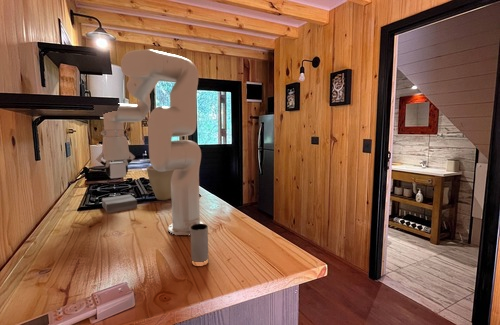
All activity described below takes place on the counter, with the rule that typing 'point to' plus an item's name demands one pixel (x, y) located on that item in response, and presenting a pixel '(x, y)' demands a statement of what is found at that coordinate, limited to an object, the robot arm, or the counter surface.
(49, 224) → the counter surface
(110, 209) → the charcoal block
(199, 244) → the grey cylinder
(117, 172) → the white cube
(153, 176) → the plant pot
